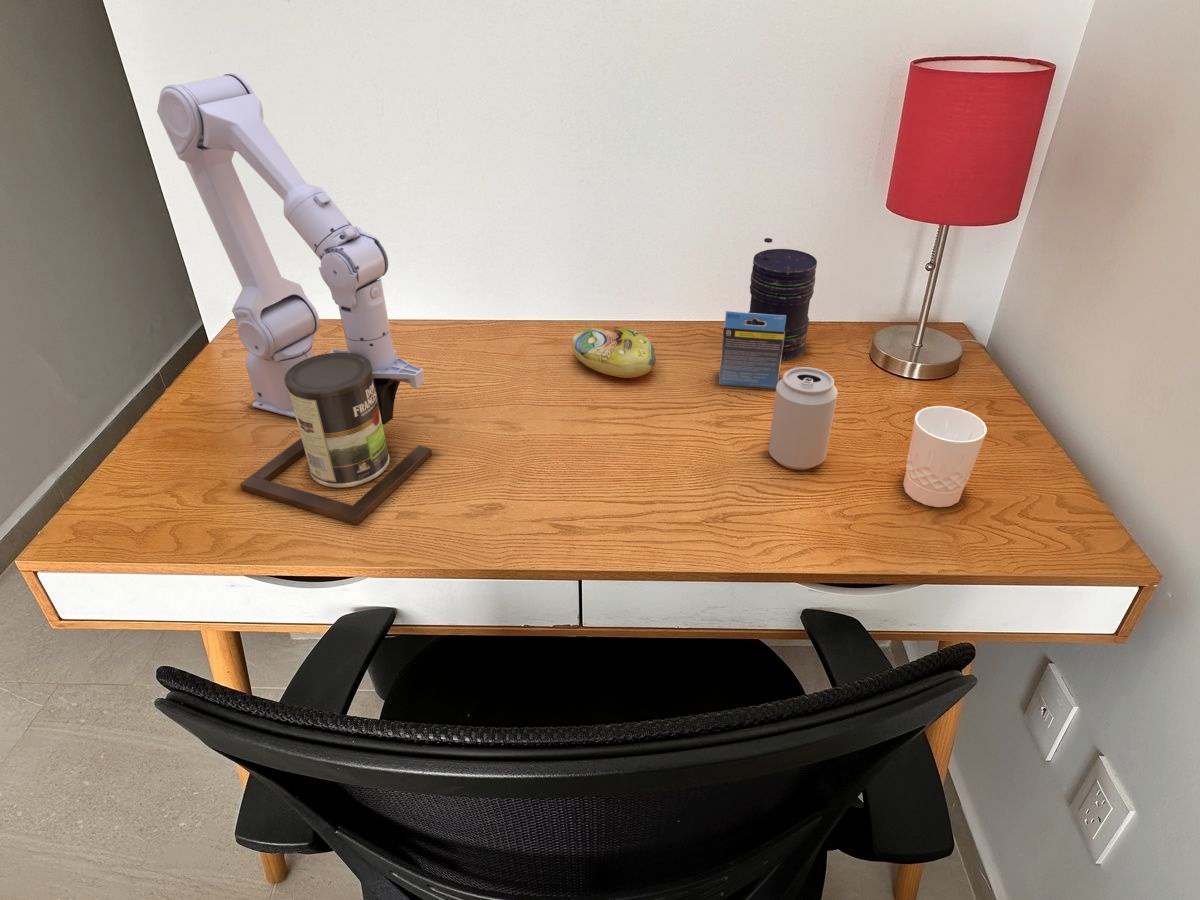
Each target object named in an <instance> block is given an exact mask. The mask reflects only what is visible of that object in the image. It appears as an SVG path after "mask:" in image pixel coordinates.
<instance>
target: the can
mask: <svg viewBox="0 0 1200 900" xmlns="http://www.w3.org/2000/svg"><path fill="white" fill-rule="evenodd" d="M774 394H775V395H774V401H773V410H772V417H771V424H770V433H769V441H768V453H769V455H770V456H771V458H773V459H774V460H775V461H776V462H777V463H778V464H779V465H781V466H783V467H785V468H787V469H791V470H798V471H801V470H802V471H803V470H809V469H812V468H815V467H816V466H820V465H821V464H823V462H825V460H826V458H827V455H828V449H829V444H830V439H831V433H832V428H833V421H834V417H835V411H836V405H837V401H838V388H836V386H835V379H834V377H833V376H832V375H831V374H829V373H828V372H826V371H824V370H822V369H820V368H815V367H809V366H800V367H794V368H790V369H788V370H787V371H785V372H784V373H783V375H782V379H780V380H778V384H777V386H776V389H775V393H774Z"/></svg>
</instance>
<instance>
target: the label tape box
mask: <svg viewBox="0 0 1200 900" xmlns="http://www.w3.org/2000/svg"><path fill="white" fill-rule="evenodd" d="M724 315H725V317H724V325H723V328H722V342H721V351H720V352H721V353H720V364H719V376H718V377H719V378H718V384H719V385H720V386H728V387H729V386H730V387H747V388H749V387H750V388H762V389H774V390H776V386H777V384H778V382H779V381H780V380H779V378H780V371H781V363H782V361H781V357H782V350H783V343H784V337H785V331H784V329H785V323H786V315H770V314H757V313H748V312H742V311H732V310H725V314H724ZM753 319H756V320H757V321H760V322H764V323H765V325H764V326H760V325H747V324H746V323H745V322H747V320H748V321H752V320H753Z"/></svg>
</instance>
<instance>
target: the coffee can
mask: <svg viewBox="0 0 1200 900" xmlns="http://www.w3.org/2000/svg"><path fill="white" fill-rule="evenodd" d="M284 381H285V384H286V387H287V388H288V391H289V394H290V398H291V402H292V406H293V410H294V413H295V417H296V418H295V420H296V424H297V427H298V430H299V435H300V439H302V442H303V446H304V450H305V454H304V455H305V457H306V460H307V464H308V468H309V473H310V477H311V478H312V480H313V481H315V482H316V483H317V484H319V485H322V486H324V487H328V488H336V489H338V488H343V489H344V488H351V487H356V486H361V485H364V484H366V483H370V482H371V481H373V480H374V479H376V478H378V477H380V475H382V474H383V473H384V472H385V471H386V470H387V468H388V467H389V466H390V465H389V464H390V461H391V458H390V453H389V451H388V446H387V441H386V436H385V431H384V425H383V424H382V420H381V415H380V410H379V405H378V400H377V395H376V390H375V384H374V379H373V374H372V365H371V362H370V361H369V360H368V359H367V358H365V357H363V356H361V355H358V354H354V353H344V352H339V353H329V352H327V353H322V354H317V355H314V356H313V357H310V358H307V359H305V360H303V361H301V362H299V363H297V364H295V365H294V366H292V367H291V368H290V369H289V370H288V371H287V372H286V374H285V377H284Z"/></svg>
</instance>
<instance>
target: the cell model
mask: <svg viewBox="0 0 1200 900" xmlns="http://www.w3.org/2000/svg"><path fill="white" fill-rule="evenodd" d="M571 349H572V352H573V354H574V356H575V358H576V359H577V360H578V361H579V362H580V363H581V364H583V365H585V366H586V367H588V368H590V369H592V370H594V371H595V372H598V373H601V374H604V375H608V376H612V377H617V378H622V379H623V378H625V379H627V378H628V379H629V378H630V379H631V378H638V377H642V376H645V375H646V374H648V373H649V372H651V371H652V369H653V368H654V367H655V365H656V361H657V360H656V351H655V346H654V345H653V343H652V341H651V340H650V339H648V337H647V336H645V335H644V334H643V333H641V332H639V331H637V330H634V329H631V328H627V327H622V326H615V325H605V326H598V327H589V328H584V329H581V330H579V331H577V332H576V333H575V334H574V335H573V337H572V339H571Z"/></svg>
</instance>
